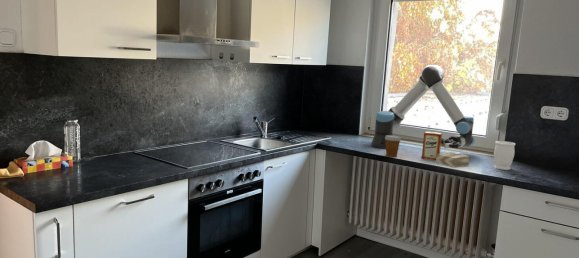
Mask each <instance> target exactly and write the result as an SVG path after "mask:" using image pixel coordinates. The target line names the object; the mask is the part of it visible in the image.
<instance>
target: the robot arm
mask: <svg viewBox="0 0 579 258" xmlns="http://www.w3.org/2000/svg"><path fill="white" fill-rule="evenodd" d="M444 71H445V70H444V69H443V68H442V67H441V66H440V65H436V64H429V65H426V66H425V67H424V68H423V69H422V71H421V74H420V75H419V77H418V81H417V82H416V83H415V84H414V86H412V88H411V89H410V90H409V91H408V92H407V93H406V94H405V95H404V96H403V97H402V99H400V101H399V102H398V103H397V104H396V105H395V106H391V107H390V109H388V110H382V111H378V112H376V114H375V124H374V125H375V126H374V135H373V137H372V140H371V144H370V146H371V147H373V148H377V149H378V148H379V149H386V139H385V137H386V135H393V131H394V130H395V129H396V128H398V127H399V126H400V125H401V123H402V122H403V120H405V115H406V114H408V112H409V111H410V110H411V109H412V108H413V107H414V105H415V104H417V102H418V101H419V100H420V99H421V98H422V97H423V96H424V95H425V94H426V93H427V92H428V91H429V90H431V91H432V92H433V94H434V95H435V97H436V99H437V100H438V101H439V103H440V105H441V106H442V108H443V109H444V111H445V113H446V114H447V116H448V117H449V118H450V120H451V122H452V123H453V125H454V127H455V130H456V132H457V133H458V134H459V135H452V136H450V137H449V138H442V139H441V145H442V146H443V145H444V148H443V149H450V148H451V149H460V148H464V147H466V148H467V147H471V146H473V145H474V144H475V141H476V140H475V137H474V135H473V129H474V117H472V116H465V115H464V114H463V112H462V111H461V109H460V107H458V105H457V103H456V101H455V100H454V98H453V97H452V95H451V94H450V92H449V91H448V88H447V87H446V86H445V85H444V83H443V82H444V77H445V72H444Z"/></svg>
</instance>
